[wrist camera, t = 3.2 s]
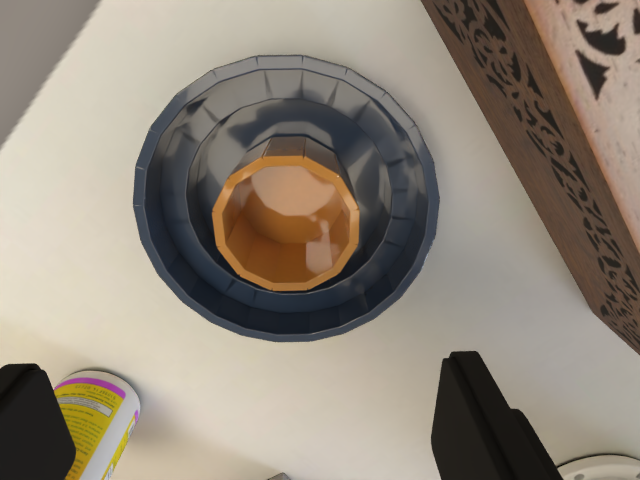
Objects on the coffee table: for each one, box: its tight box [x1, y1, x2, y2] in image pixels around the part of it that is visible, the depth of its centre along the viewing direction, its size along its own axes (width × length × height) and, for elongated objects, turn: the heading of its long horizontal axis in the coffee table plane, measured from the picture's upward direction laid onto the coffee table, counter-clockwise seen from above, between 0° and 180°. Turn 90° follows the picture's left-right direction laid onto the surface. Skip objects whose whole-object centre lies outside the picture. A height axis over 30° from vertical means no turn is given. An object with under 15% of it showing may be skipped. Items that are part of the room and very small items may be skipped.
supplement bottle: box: [53, 371, 140, 480], centre depth 26 cm, size 7×7×13 cm
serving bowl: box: [133, 55, 440, 342], centre depth 23 cm, size 16×16×5 cm
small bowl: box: [212, 137, 360, 291], centre depth 22 cm, size 7×7×6 cm
